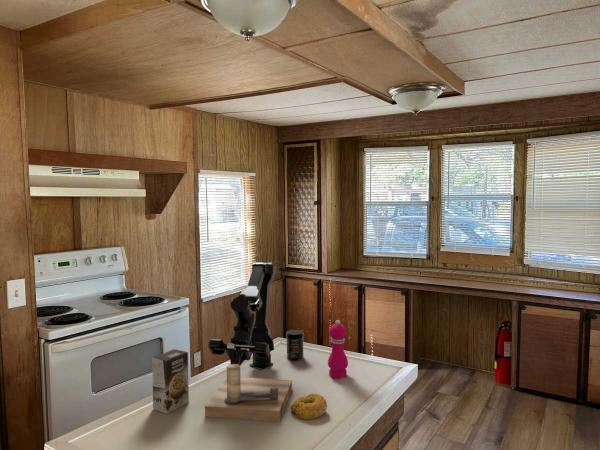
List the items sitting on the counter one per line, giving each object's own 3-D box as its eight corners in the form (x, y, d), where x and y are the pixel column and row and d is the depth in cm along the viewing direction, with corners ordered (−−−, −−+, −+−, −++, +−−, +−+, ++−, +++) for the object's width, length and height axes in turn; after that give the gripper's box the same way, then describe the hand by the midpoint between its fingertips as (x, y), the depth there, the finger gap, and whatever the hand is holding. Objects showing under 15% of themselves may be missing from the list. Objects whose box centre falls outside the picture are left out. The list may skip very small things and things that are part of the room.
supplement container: (306, 359, 177) (305, 333, 177) (289, 362, 175) (289, 335, 174) (300, 354, 184) (300, 328, 183) (284, 356, 181) (284, 330, 181)
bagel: (298, 402, 141) (298, 387, 141) (331, 409, 137) (331, 393, 136) (284, 416, 132) (284, 400, 132) (319, 424, 128) (319, 407, 127)
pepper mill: (348, 371, 165) (348, 317, 164) (348, 379, 158) (348, 323, 157) (328, 370, 166) (328, 317, 165) (327, 378, 159) (327, 322, 157)
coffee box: (167, 414, 133) (165, 360, 132) (152, 409, 137) (150, 356, 136) (189, 402, 141) (188, 351, 140) (175, 397, 145) (174, 348, 144)
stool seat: (228, 385, 154) (228, 375, 154) (292, 388, 151) (292, 379, 150) (205, 416, 132) (204, 405, 132) (279, 421, 129) (279, 410, 129)
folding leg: (227, 398, 136) (226, 364, 136) (277, 394, 139) (277, 361, 138) (227, 404, 133) (226, 369, 132) (278, 400, 135) (278, 366, 134)
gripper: (275, 342, 151) (267, 388, 141) (221, 338, 154) (210, 383, 144) (270, 325, 143) (261, 372, 133) (214, 321, 146) (200, 367, 136)
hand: (232, 374), depth 137 cm, fingers closed, pressing on folding leg
